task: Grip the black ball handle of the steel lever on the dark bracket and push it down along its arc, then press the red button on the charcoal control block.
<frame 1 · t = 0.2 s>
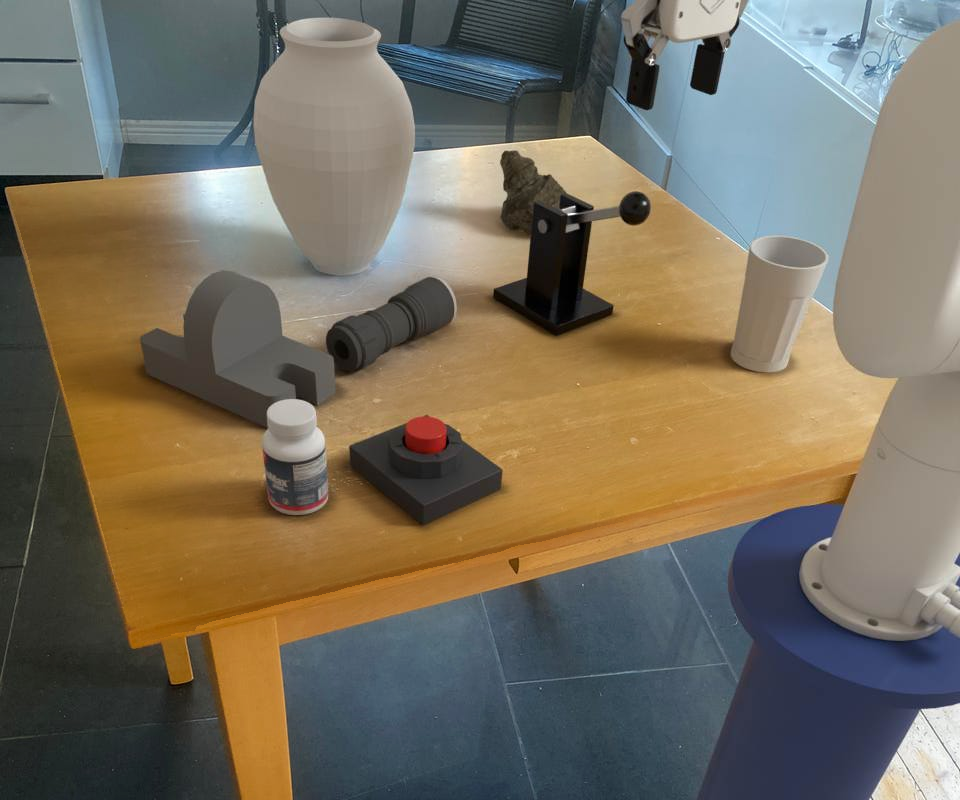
hand: (671, 98, 100), 23 cm above the table, tool pointing down, fingers open, 9 cm apart
button block: (425, 477, 90), on the table
bracket: (552, 306, 115), on the table
flashlight: (392, 347, 107), on the table
lever: (597, 214, 104), point 12 cm above the table, hinge at 25.0°
vase: (341, 264, 120), on the table
bracket 2: (240, 382, 100), on the table
brown rock: (541, 230, 131), on the table
pill bottle: (298, 500, 87), on the table
button: (425, 435, 87), point 4 cm above the table, slide at 0.1 cm
cup: (758, 359, 109), on the table
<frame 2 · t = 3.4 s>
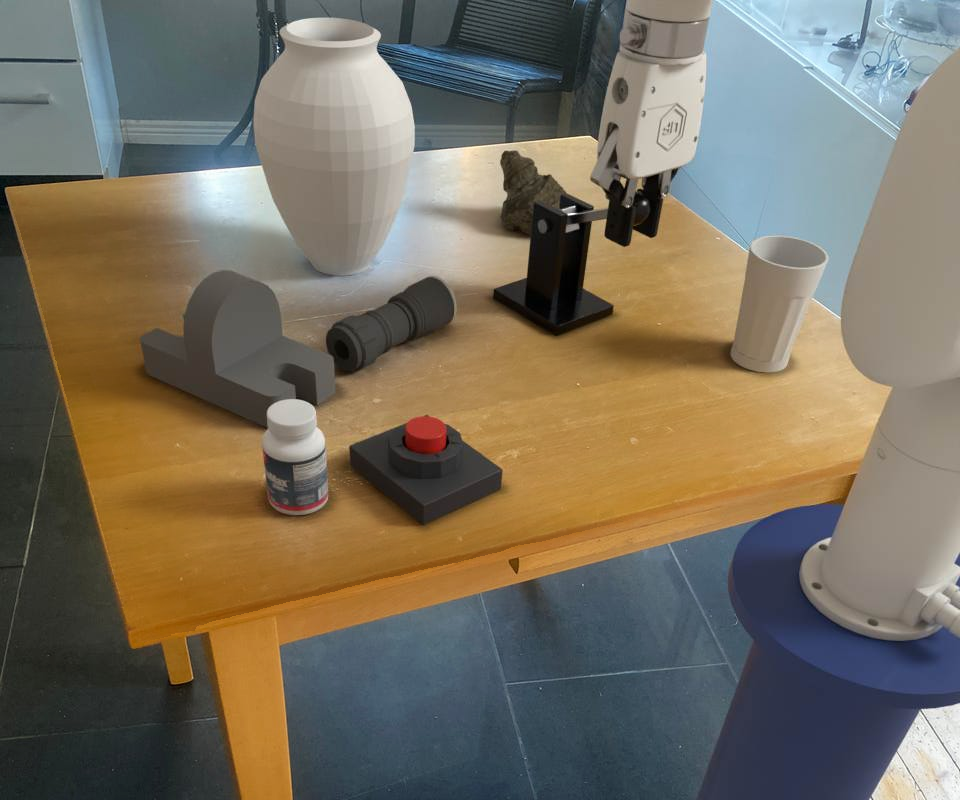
hand: (630, 235, 102), 12 cm above the table, tool pointing down, fingers closed on lever, 3 cm apart
lever: (597, 214, 104), point 12 cm above the table, hinge at 25.0°, touching gripper
everything else where it was.
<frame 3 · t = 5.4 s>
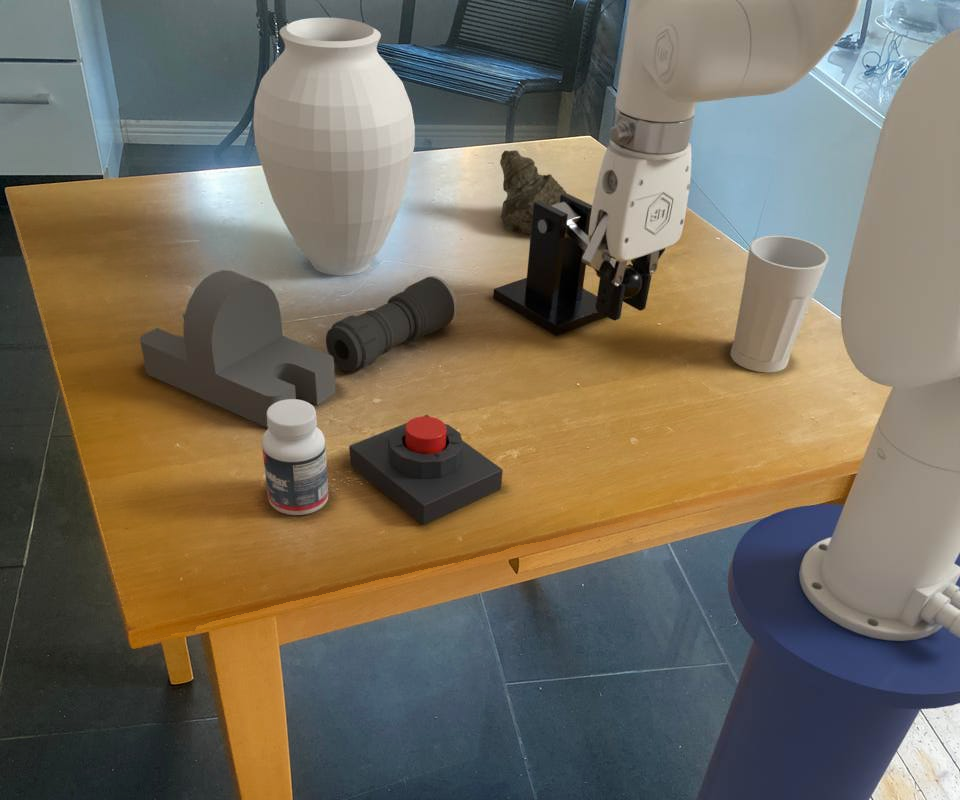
hand: (620, 308, 107), 4 cm above the table, tool pointing down, fingers closed on lever, 3 cm apart
lever: (594, 251, 106), point 9 cm above the table, hinge at -15.3°, touching gripper
everything else where it was.
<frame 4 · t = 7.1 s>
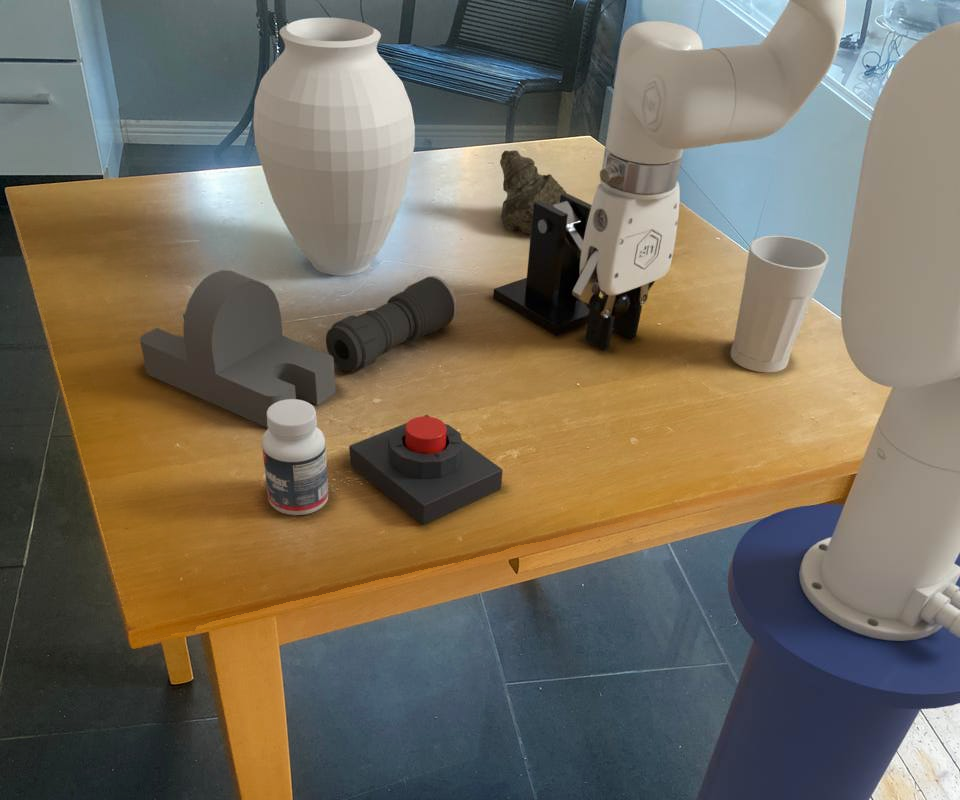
hand: (610, 337, 110), 0 cm above the table, tool pointing down, fingers open, 3 cm apart
lever: (589, 262, 108), point 7 cm above the table, hinge at -30.6°
everything else where it was.
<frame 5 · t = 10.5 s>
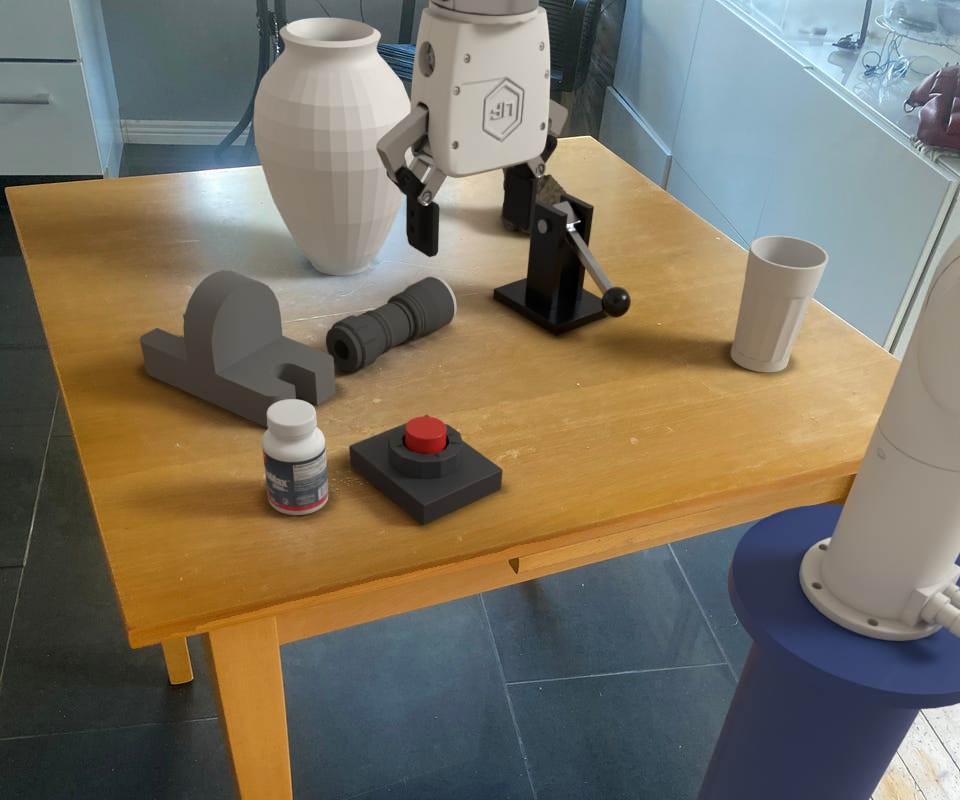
hand: (471, 236, 79), 20 cm above the table, tool pointing down, fingers open, 9 cm apart
nothing on the table moved.
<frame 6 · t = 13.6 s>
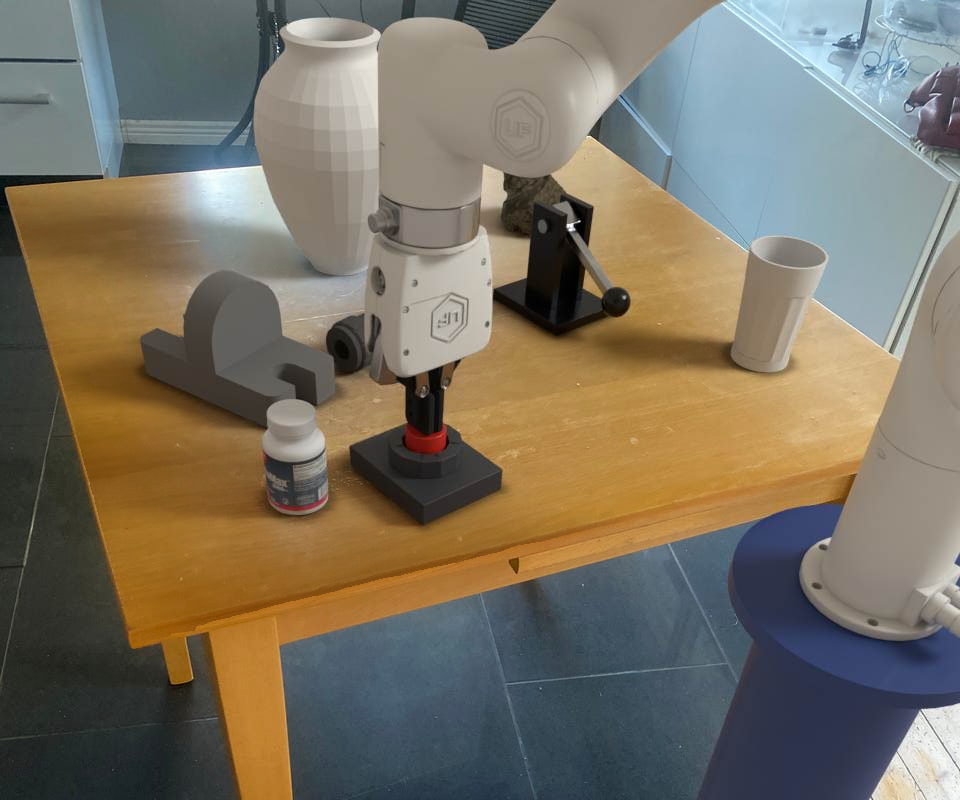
hand: (424, 426, 86), 5 cm above the table, tool pointing down, fingers closed
button: (425, 435, 87), point 4 cm above the table, slide at 0.1 cm, touching gripper
everything else where it was.
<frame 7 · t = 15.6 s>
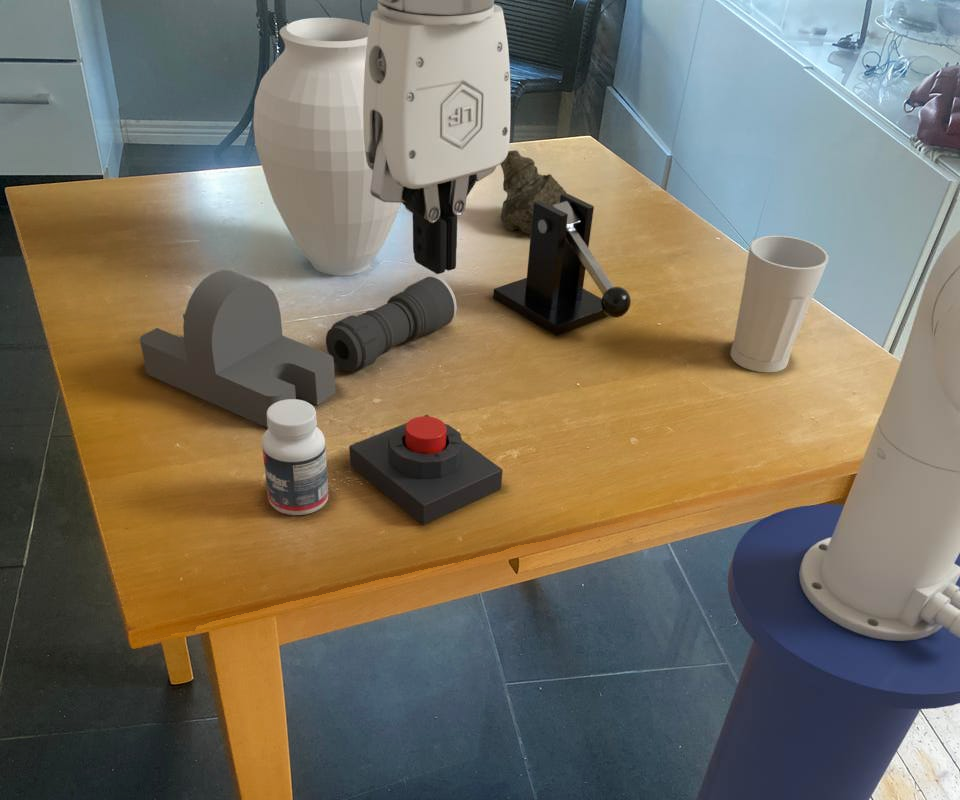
hand: (434, 265, 76), 20 cm above the table, tool pointing down, fingers closed
button: (425, 435, 87), point 4 cm above the table, slide at 0.1 cm
everything else where it was.
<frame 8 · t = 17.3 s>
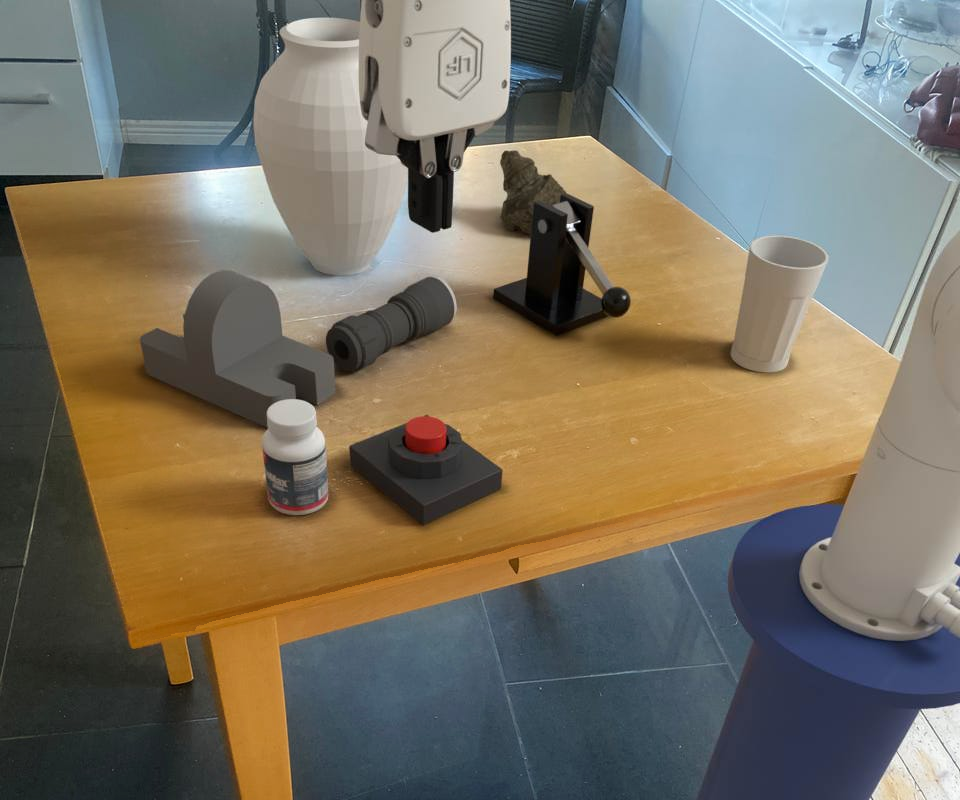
hand: (430, 223, 73), 23 cm above the table, tool pointing down, fingers closed
nothing on the table moved.
at the end: lever at -30° (first picture: +25°); button pushed in 1.1 cm at the most during the clip, back to where it started at the end; button slide at 0.1 cm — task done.
